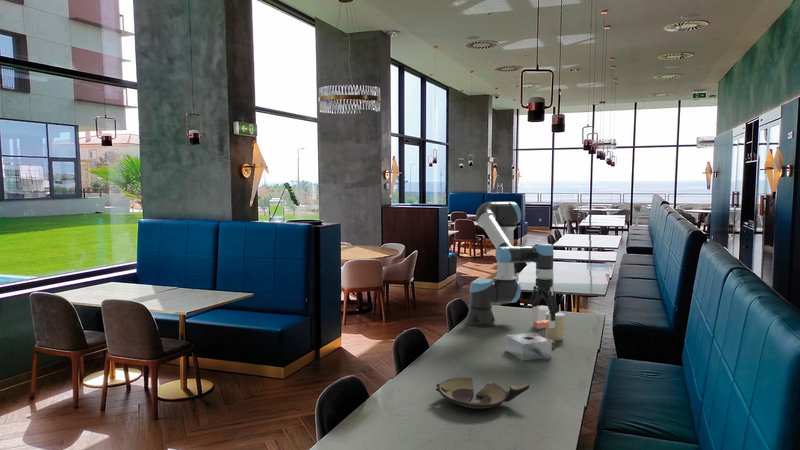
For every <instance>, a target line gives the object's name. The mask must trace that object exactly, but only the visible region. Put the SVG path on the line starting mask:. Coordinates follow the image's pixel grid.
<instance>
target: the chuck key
mask: <svg viewBox="0 0 800 450" xmlns="http://www.w3.org/2000/svg"><path fill="white" fill-rule="evenodd" d="M532 327H533V328H535V329H538V330H539V335H540V336H542V337H544V338H546V328H549V320H542V321H532Z"/></svg>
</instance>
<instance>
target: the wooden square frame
mask: <svg viewBox="0 0 800 450" xmlns="http://www.w3.org/2000/svg"><path fill="white" fill-rule="evenodd" d="M546 339H548V340H550V341H552V349H555V348H556V340H551V339H549V338H547V337H546Z"/></svg>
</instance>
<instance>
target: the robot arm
mask: <svg viewBox="0 0 800 450" xmlns="http://www.w3.org/2000/svg"><path fill="white" fill-rule="evenodd" d="M521 218H522V213H521V208H520V206H519V204H518V203H516V202H515V201H487V202H484V203H482V204H481V205H480V206H479V207H478V208H477V210H476V213H475V219H476V222H477V224H478V226H479V227H480V228H482V229H483V230H484V232H485V233H486V235H487V236H488V238H489V240H490V241H491V243H492V244H493V246H494V247H495V258H496V264H497V265H496V266H497V267H496V272H497V273H496V275H495V277H494V278H493V280H492V279H490V278H479V279H475V280H473V281H471V282H470V285H469V288H470V289H469V310H468V313H467V316H466V318H465V323H466V324H467V326H471V327H475V328H476V327H477V328H489V327H490V328H491V327H493V326H495V324H496V319H495V316H494V312H493V305H494V304H495V305H496V304H510V303H511V304H512V303H514V304H515V303H517V302H518V300H519V299H520V296H521V292H522V291H521V284H520V282H519V280H517V277H516V276H515V275H514V266H515V264H517V263H535V277H536V278H535V285H534V286H533V289H532V290H533V291H532V294H531V297H530V300H529V305H531V307H532V312H531V313H532V314H531V315H532V317H531V318H532V319H531V320H532V322H533V321H538V309H539V307H538V306H539V304H540V302H541V301H542V299H543V300H544V301H545V303H546V305H547V306H546V307H548V308H549V328H555V314H556V313H559V312H560V310H559V307H558V302H557V298H556V292H555V290H551V288H553V284H554V279H553V278H554V254H555V253H554V252H555V251H554V245H553V244H551V243H537V244H536V245H526V246H519V245H517V246H514V242H515V241H514V240H515V239H514V230H515V229H516V228H517V224H519V223H520V222H521ZM536 306H537V307H536Z"/></svg>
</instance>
